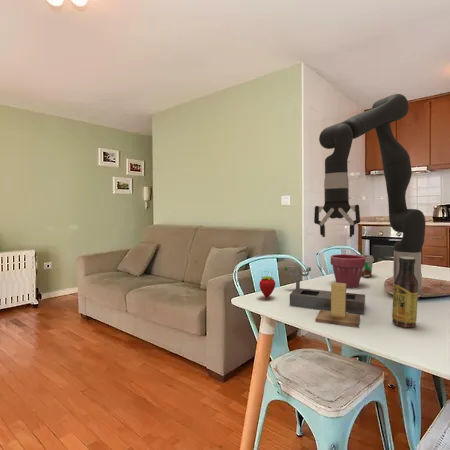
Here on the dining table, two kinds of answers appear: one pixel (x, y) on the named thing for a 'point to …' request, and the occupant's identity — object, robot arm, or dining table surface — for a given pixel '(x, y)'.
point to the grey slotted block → (326, 300)
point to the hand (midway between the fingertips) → (337, 236)
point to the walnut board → (348, 321)
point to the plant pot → (348, 269)
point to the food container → (367, 266)
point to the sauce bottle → (405, 294)
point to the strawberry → (267, 286)
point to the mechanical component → (297, 273)
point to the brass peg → (338, 300)
